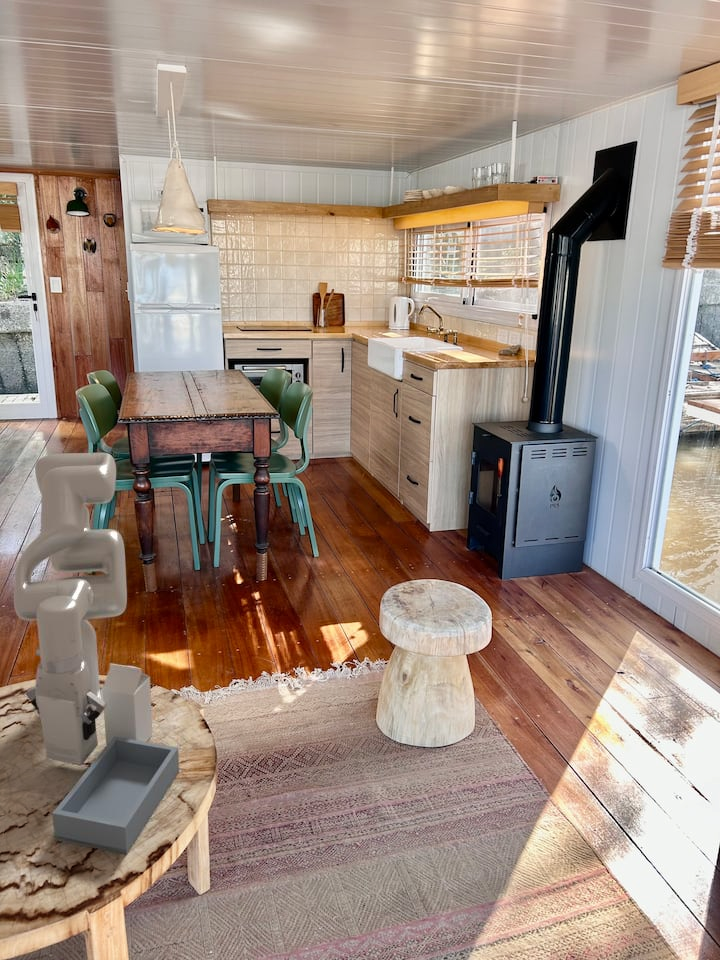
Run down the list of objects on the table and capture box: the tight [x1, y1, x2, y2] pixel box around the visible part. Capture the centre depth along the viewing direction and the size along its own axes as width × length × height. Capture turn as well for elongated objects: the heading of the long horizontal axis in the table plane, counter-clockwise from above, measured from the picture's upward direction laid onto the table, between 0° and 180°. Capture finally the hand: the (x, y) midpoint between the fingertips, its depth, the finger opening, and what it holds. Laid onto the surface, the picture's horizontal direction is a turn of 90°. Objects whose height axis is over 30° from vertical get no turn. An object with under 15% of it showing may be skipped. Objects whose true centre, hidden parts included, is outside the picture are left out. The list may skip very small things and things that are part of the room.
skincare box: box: [37, 696, 99, 766], centre depth 147 cm, size 8×7×16 cm
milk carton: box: [102, 663, 153, 747], centre depth 156 cm, size 7×7×19 cm
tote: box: [51, 736, 180, 855], centre depth 141 cm, size 14×22×6 cm, turn 169°
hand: (69, 731), depth 148 cm, fingers closed on skincare box, 8 cm apart
